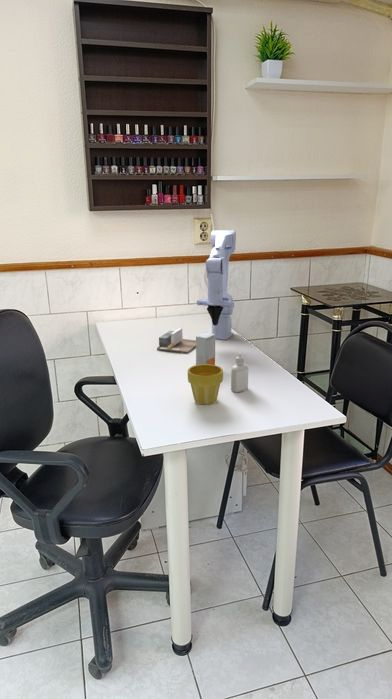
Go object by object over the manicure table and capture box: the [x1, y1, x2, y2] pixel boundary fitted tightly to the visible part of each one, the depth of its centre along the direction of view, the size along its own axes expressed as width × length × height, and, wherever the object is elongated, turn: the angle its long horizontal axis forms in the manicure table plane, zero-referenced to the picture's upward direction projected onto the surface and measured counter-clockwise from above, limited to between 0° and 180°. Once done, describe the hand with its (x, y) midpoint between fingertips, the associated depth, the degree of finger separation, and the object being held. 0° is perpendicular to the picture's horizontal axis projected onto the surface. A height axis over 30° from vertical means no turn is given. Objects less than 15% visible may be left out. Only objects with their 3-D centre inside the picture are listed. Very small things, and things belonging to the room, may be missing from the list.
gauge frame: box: [156, 330, 196, 355], centre depth 194 cm, size 14×13×4 cm
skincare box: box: [195, 332, 216, 365], centre depth 171 cm, size 6×4×12 cm
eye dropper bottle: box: [230, 352, 249, 393], centre depth 152 cm, size 4×6×12 cm
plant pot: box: [187, 364, 224, 406], centre depth 146 cm, size 10×10×10 cm
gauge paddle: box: [168, 327, 184, 348], centre depth 193 cm, size 12×1×5 cm, turn 157°
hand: (215, 324), depth 190 cm, fingers closed
